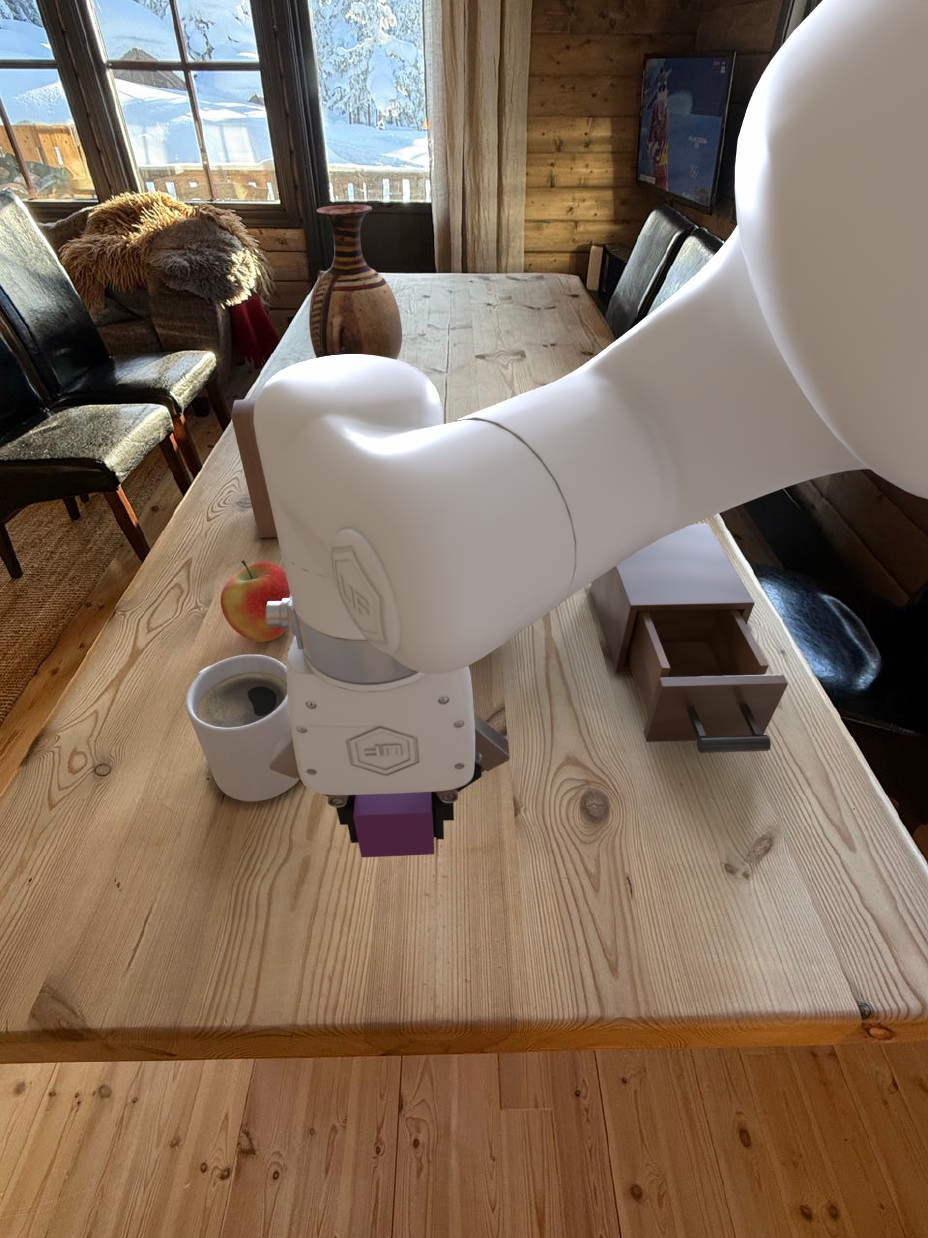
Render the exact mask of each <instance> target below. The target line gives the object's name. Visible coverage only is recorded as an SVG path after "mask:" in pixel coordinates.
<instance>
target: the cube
mask: <svg viewBox="0 0 928 1238" xmlns="http://www.w3.org/2000/svg"><path fill="white" fill-rule="evenodd" d="M353 817H354V822H355V827H356V832H357V838H358V843H357V844H358V848H359V852H360V857H361V858H380V857H382V858H383V857H405V856H407V857H408V856H429V855H430V856H432V855H435V838H434V830H433V814H432V792H415V793H393V794H364V795H355V803H354V813H353Z"/></svg>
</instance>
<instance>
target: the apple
mask: <svg viewBox="0 0 928 1238" xmlns="http://www.w3.org/2000/svg"><path fill="white" fill-rule="evenodd" d="M240 562H241V563H242V564H243V565H244V568H242V569H240V570H239V571H238V572H236V573H235V574H234V575H233V576H232V577H230V578H229V579H228V580H227V582H226V583H225V585H224V586H223V588H222V591H221V593H220V607H221V611H222V614H223V616H224V618H225V621H226V622H227V623H228V624H229V626H230V627H231V628H232V629H233V630H234V631H235V632H236V633H237V634H239V635H240V636H242V637H243V638H245V639H248V640H249V641H253V642H261V643H262V642H264V643H265V642H270V641H275V640H276V639H278V638H280V637H281V636H283V635H284V634H285V633H286V632H287V630H284V629H283V627H273V628H269V627H268V625H267V621H266V606H267V603H268V602H271V601H282V599H284V598H289V597H290V590H289V585H288V581H287V576H286V572H285V569H283V568H282V567H280V566H279V565H277V564H276V563H274V562H271V561H268V560H267V561H266V560H262V561H256V562H253V563H251V564H249V565H247V563H246V561H245V560H241V561H240Z"/></svg>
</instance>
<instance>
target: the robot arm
mask: <svg viewBox="0 0 928 1238" xmlns="http://www.w3.org/2000/svg"><path fill="white" fill-rule="evenodd" d="M751 95H752V96H751V97H750V100H749V103H748V106H747V109H746V111H745V115H744V118H743V121H742V125H741V128H740V132H739V135H738V138H737V144H736V145H737V146H736V156H735V165H734V197H735V211H736V212H735V213H736V223H737V225H736V227H735V228H734V230H733V231H732V233H731V235H730V236H729V237H728V239H727V240H725V242H724V243H723V244H722V246H721V247H720V248H719V250H718V251H717V252H716V253H715V254H714V255H713V256H712V257H711V258H710V260H709V261H707V262H706V264H705V265H704V266H703V267H702V268H701V269H700V270H699V271H698V272H696V274H695V275H694V276H693V277H691V278H689V280H688V281H687V282H686V283H685V284H684V285H683V286H682V287H681V288H680V289H678V290H677V291H676V292H675V293H674V294H672V295H671V296H670V297H668V298H667V299H666V300H665V301H664V302H663V303H661V304H660V305H659V306H658V307H656V308H655V309H654V310H653V311H652V312H651V313H649V314H648V315H646V316H645V317H644V318H643V319H642V320H640V321H639V322H638V323H637V324H635V325H634V326H633V327H631V329H629V330H628V331H626V332H625V333H624V334H623V335H622V336H620V337H619V338H617V339H616V340H615V341H613V342H612V343H611V344H610V345H609V346H607V347H606V348H605V349H604V350H602V351H601V352H600V353H598V354H597V355H595V356H594V357H592V358H591V359H590V360H589V361H587V362H585V363H584V364H583V365H581V366H580V367H578V368H577V369H575V370H573V371H572V372H570V373H568V374H566V375H565V376H563V377H561V378H559V379H557V380H555V381H552V382H551V383H548V384H545V385H543V386H539V387H536V388H534V389H531V390H528V391H526V392H523V393H520V394H518V395H515V396H513V397H511V398H508V399H506V400H503V401H500V402H498V403H496V404H493V405H491V406H488V407H486V408H483V409H481V410H477V411H475V412H473V413H471V414H468V415H466V416H463V417H461V418H457V419H456V420H455V421H452V422H448V423H447V422H446V423H444V411H443V405H442V403H441V399H440V395H439V393H438V390H437V388H436V386H435V385H434V384H433V383H432V381H431V380H430V379H429V377H428V376H427V375H426V374H425V373H423V372H422V371H421V370H419V369H418V368H417V367H415V366H414V365H411V364H410V363H407V362H405V361H402V360H399V359H397V360H395V359H391V358H386V357H380V356H373V355H336V356H328V357H321V358H313V359H309V360H305V361H302V362H299V363H295V364H293V365H291V366H288V367H285V368H283V369H282V370H280V371H278V372H277V373H276V374H274V375H272V376H271V377H270V378H269V379H268V380H267V381H266V382H264V384H263V385H262V387H261V388H260V390H259V392H258V394H257V396H256V398H255V399H256V402H255V407H254V428H255V434H256V440H257V445H258V450H259V454H260V459H261V463H262V468H263V472H264V477H265V481H266V486H267V490H268V495H269V500H270V504H271V509H272V513H273V518H274V522H275V527H276V531H277V536H278V537H277V540H278V544H279V545H278V546H279V549H280V553H281V558H282V563H283V567H284V571H285V572H286V576H287V581H288V585H289V590H290V597H289V598H284V599H282V601H271V602H268V603H267V606H266V621H267V625H268V627H269V628H273V627H283V629H284V630H286V631H290V633H291V634H292V635H293V638H292V641H291V644H290V646H289V649H288V652H287V660H286V667H287V694H288V705H289V715H290V723H291V729H290V730H289V731H288V732H287V733H286V734H285V735H284V737H283V738H282V739H281V740H280V741H279V742H278V743H277V744H276V745H275V747H274V748H273V750H272V754H271V759H270V763H269V767H270V769H272V770H273V771H276V772H279V773H281V774H284V775H286V776H289V777H292V778H294V779H296V778H300V779H299V781H300V783H301V784H302V785H303V786H304V787H306V788H307V789H308V790H309V791H311V792H313V793H317V794H319V795H320V794H321V795H323V796H325V797H327V804H328V805H329V806H330V807H331V808H335V810H336V813H337V818H338V823H339V825H340V826H344V825H345V826H347V829H348V834H349V840H350V844H359V843H358V838H357V832H356V827H355V822H354V817H353V813H354V803H355V795H364V794H393V793H415V792H432V814H433V830H434V839H436V840H445V823H444V822H446V821H447V822H448V821H455V807H454V804H455V802H457V801H458V800H459V792H461V791H462V790H464V789H465V788H467V787H468V786H470V785H472V784H473V783H475V782H477V781H478V780H480V779H481V778H482V776H483V773H484V772H490V771H491V770H493V769H495V768H497V767H499V766H502V765H503V764H505V763H507V762H509V761H510V758H511V754H510V747H509V740H508V739H507V738H506V737H505V736H504V735H502V733H500V732H499V731H497V730H496V729H495V728H494V727H493V726H491V725H490V724H489V723H488V722H486V721H485V720H484V719H483V718H482V717H481V716H480V715H478V714H477V713H476V712H475V711H474V695H473V694H474V693H473V684H472V676H471V670H470V666H471V665H473V664H474V663H476V662H478V661H479V660H481V659H483V658H484V657H486V656H487V655H489V654H491V653H492V652H494V651H495V650H497V649H498V648H500V647H502V646H503V645H504V644H505V643H507V642H508V641H510V640H511V639H513V638H514V637H516V636H517V635H518V634H520V633H521V632H523V631H524V630H525V629H527V628H528V627H530V626H531V625H532V624H534V623H536V622H537V621H538V620H540V619H541V618H543V617H544V616H546V615H547V614H549V613H550V612H551V611H552V610H554V609H556V608H557V607H559V606H560V604H562V603H563V602H565V601H566V600H567V599H569V598H571V597H572V596H574V595H576V594H577V593H578V592H580V591H582V590H583V589H584V588H586V587H587V586H589V585H590V584H591V583H592V582H593V581H594V580H596V579H597V578H599V577H600V576H602V575H603V574H605V573H606V572H608V571H609V570H611V569H612V568H614V567H615V566H617V565H618V564H620V563H622V562H623V561H625V560H626V559H628V558H629V557H631V556H632V555H634V554H635V553H637V552H639V551H640V550H642V549H643V548H645V547H647V546H648V545H650V544H652V543H654V542H655V541H657V540H659V539H661V538H663V537H665V536H667V535H669V534H671V533H674V532H676V531H678V530H680V529H682V528H685V527H687V526H689V525H692V524H697V523H699V522H701V521H703V520H705V519H708V518H711V517H713V516H716V515H718V514H720V513H723V512H726V511H728V510H731V509H732V508H735V507H736V508H737V507H738V506H741V505H744V504H745V503H748V502H751V501H753V500H757V499H759V498H761V497H764V496H767V495H769V494H772V493H775V492H777V491H780V490H782V489H785V488H788V487H791V486H795V485H797V484H800V483H803V482H806V481H810V480H814V479H817V478H820V477H824V476H827V475H832V474H837V473H843V472H847V471H858V470H859V471H860V470H871V471H872V472H873V473H874V474H876V475H877V476H879V477H881V478H882V479H884V480H886V481H887V482H889V483H890V484H892V485H894V486H896V487H897V488H899V489H901V490H903V491H905V492H906V493H909V494H912V495H914V496H916V497H919V498H923V499H926V500H928V0H821V2H820V3H819V4H818V5H817V6H816V7H815V8H814V9H813V10H812V12H810V13H809V15H807V17H805V19H804V20H802V22H801V23H800V24H799V25H798V26H797V27H796V28H795V29H794V30H793V31H792V33H790V35H789V36H788V38H786V40H785V42H784V43H783V44H782V46H781V47H780V48H779V49H778V51H777V52H776V53H775V55H774V56H773V57H772V59H771V60H770V62H769V63H768V65H767V66H766V68H765V70H764V71H763V73H762V74H761V77H760V78H759V80H758V83H757V84H756V86H755V88H754V91H753V92H752V94H751Z"/></svg>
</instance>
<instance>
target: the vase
mask: <svg viewBox="0 0 928 1238" xmlns="http://www.w3.org/2000/svg"><path fill="white" fill-rule="evenodd" d="M372 211H373V206H370V205H367V204H343V205H328V206H322V207H319V208H317V209H316V213H317V214H318V215H321V216H324V217H326V218H327V220H328V221H329V224H330V227H331V230H332V235H333V246H334V248H333V249H334V254H333V260H332V263H331V266H330V268H328V269H327V270H321V269H319V270H318V271H317V280H316V282H315V283H314V286H313V289H312V292H311V296H310V299H309V301H310V302H309V311H308V328H309V336H310V340H311V344H312V349H313V353H314V356H315V357H316V358H315V359H317V358H321V357H328V356H336V355H373V356H380V357H386V358H391V359H395V360H398V358H399V356H400V353H401V348H402V345H403V327H402V320H401V319H402V318H401V314H400V309H399V306H398V303H397V299H396V297H395V295H394V292H393V291H392V289H391V287H390V285H389V283H388V282H387V281H386V279H385V278H384V277H383V276H382V275H381V274H380V273H379V272H378V271H376V270H375V269H373V268H372V267H370V266H369V265H368V263H367V262H366V260H365V258H364V256H363V252H362V251H363V250H362V245H361V227H362V222H363V220H364V217H365V216H366V215H367V214H368V213H370V212H372Z"/></svg>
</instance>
